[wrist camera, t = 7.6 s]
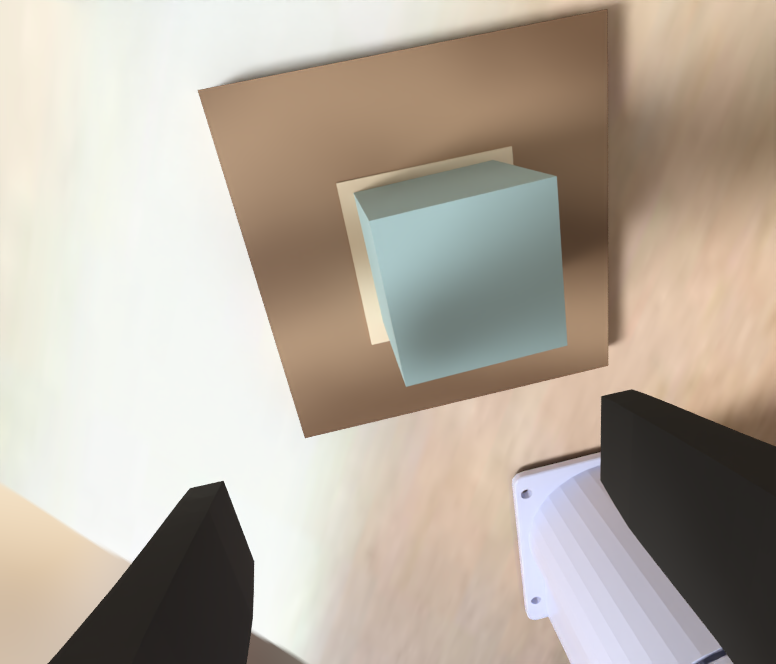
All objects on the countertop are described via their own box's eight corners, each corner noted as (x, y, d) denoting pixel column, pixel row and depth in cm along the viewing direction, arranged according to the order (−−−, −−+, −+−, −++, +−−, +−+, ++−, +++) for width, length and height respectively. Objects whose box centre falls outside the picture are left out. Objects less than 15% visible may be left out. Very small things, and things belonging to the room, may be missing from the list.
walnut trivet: (592, 352, 21) (609, 366, 20) (305, 420, 20) (305, 439, 19) (586, 16, 16) (609, 8, 15) (205, 91, 15) (197, 90, 14)
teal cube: (507, 292, 18) (567, 345, 14) (383, 323, 18) (406, 386, 13) (493, 160, 16) (556, 176, 12) (353, 192, 16) (369, 220, 12)
